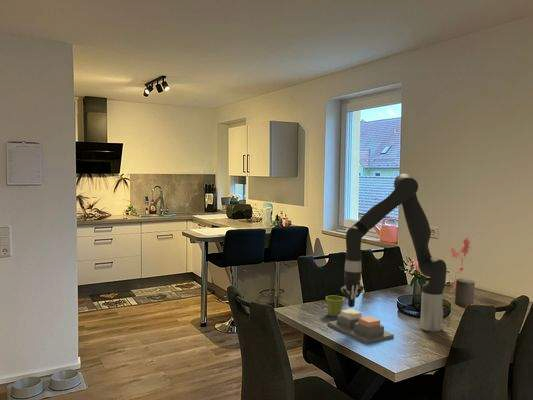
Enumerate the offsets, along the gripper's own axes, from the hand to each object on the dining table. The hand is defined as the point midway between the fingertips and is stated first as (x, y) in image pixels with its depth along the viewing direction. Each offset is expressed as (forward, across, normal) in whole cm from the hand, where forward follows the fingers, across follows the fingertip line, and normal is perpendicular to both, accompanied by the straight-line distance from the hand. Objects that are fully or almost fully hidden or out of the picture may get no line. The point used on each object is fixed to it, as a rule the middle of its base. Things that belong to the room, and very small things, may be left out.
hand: (351, 306), depth 207 cm
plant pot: (+10, +6, +18) cm, 21 cm away
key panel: (+10, 0, -6) cm, 11 cm away
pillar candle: (+9, +84, +1) cm, 85 cm away
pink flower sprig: (+9, +106, +16) cm, 108 cm away
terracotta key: (+5, 0, -12) cm, 13 cm away
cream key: (+5, 0, 0) cm, 5 cm away
